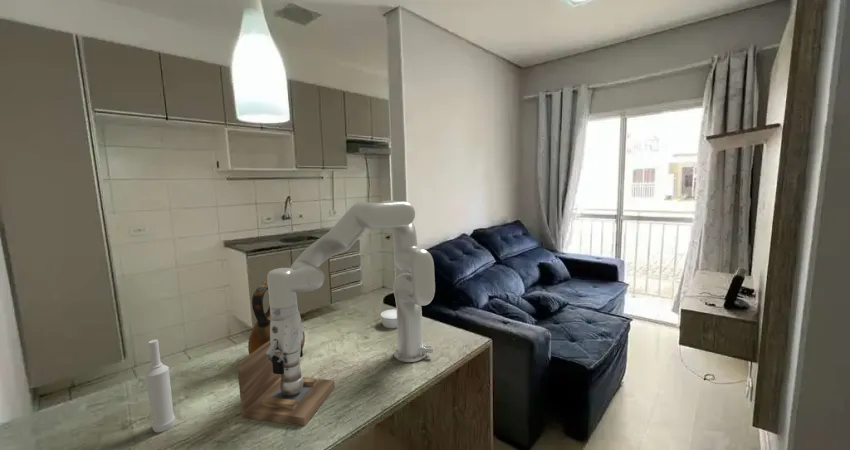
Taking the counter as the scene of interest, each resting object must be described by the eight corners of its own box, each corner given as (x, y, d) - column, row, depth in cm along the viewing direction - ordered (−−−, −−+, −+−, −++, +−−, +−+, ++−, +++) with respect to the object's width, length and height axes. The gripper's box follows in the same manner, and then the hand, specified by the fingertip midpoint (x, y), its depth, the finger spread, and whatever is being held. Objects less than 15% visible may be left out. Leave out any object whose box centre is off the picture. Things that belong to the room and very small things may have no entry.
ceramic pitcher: (315, 347, 140) (310, 275, 136) (282, 374, 121) (275, 291, 117) (275, 342, 146) (269, 273, 142) (237, 367, 126) (229, 288, 123)
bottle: (180, 419, 99) (169, 336, 95) (167, 432, 94) (155, 345, 90) (161, 420, 98) (150, 337, 95) (147, 433, 93) (135, 346, 90)
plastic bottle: (281, 388, 107) (276, 327, 105) (304, 384, 109) (300, 324, 107) (279, 401, 101) (274, 336, 99) (304, 396, 103) (299, 332, 101)
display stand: (334, 387, 112) (332, 339, 110) (305, 426, 95) (300, 369, 93) (280, 381, 116) (276, 335, 114) (241, 417, 99) (236, 363, 97)
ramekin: (404, 329, 155) (404, 318, 155) (379, 330, 155) (379, 318, 155) (405, 319, 166) (405, 308, 166) (382, 320, 166) (381, 309, 166)
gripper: (277, 323, 93) (282, 382, 95) (311, 300, 109) (314, 351, 112) (252, 321, 94) (258, 379, 96) (289, 299, 111) (294, 349, 113)
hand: (288, 364), depth 104 cm, fingers open, 9 cm apart
